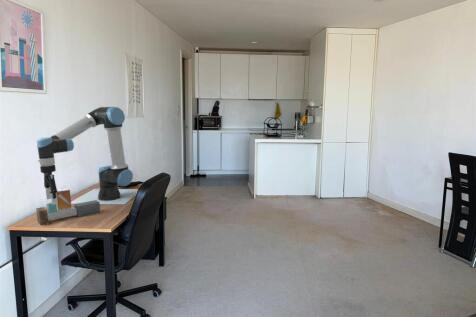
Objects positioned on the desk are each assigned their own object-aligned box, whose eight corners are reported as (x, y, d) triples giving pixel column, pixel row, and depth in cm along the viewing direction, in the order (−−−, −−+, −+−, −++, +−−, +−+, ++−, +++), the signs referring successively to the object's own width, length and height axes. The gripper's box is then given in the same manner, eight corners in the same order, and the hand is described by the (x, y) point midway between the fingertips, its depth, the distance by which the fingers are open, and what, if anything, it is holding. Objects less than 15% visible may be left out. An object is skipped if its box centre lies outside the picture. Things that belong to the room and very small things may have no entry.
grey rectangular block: (96, 210, 221) (95, 200, 220) (100, 212, 216) (99, 202, 215) (74, 214, 212) (74, 204, 211) (78, 217, 207) (77, 206, 206)
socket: (45, 220, 203) (44, 206, 202) (48, 223, 197) (47, 209, 195) (37, 221, 200) (36, 208, 199) (40, 225, 194) (39, 211, 193)
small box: (57, 211, 219) (55, 191, 217) (56, 209, 224) (54, 189, 222) (71, 209, 223) (70, 189, 221) (70, 207, 229) (68, 187, 227)
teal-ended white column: (77, 212, 212) (76, 198, 211) (79, 214, 209) (78, 200, 207) (42, 219, 200) (41, 204, 199) (44, 221, 197) (42, 206, 195)
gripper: (35, 163, 204) (40, 198, 207) (45, 169, 185) (49, 207, 189) (49, 161, 209) (54, 195, 212) (60, 167, 190) (64, 204, 193)
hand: (52, 201), depth 200 cm, fingers open, 13 cm apart
